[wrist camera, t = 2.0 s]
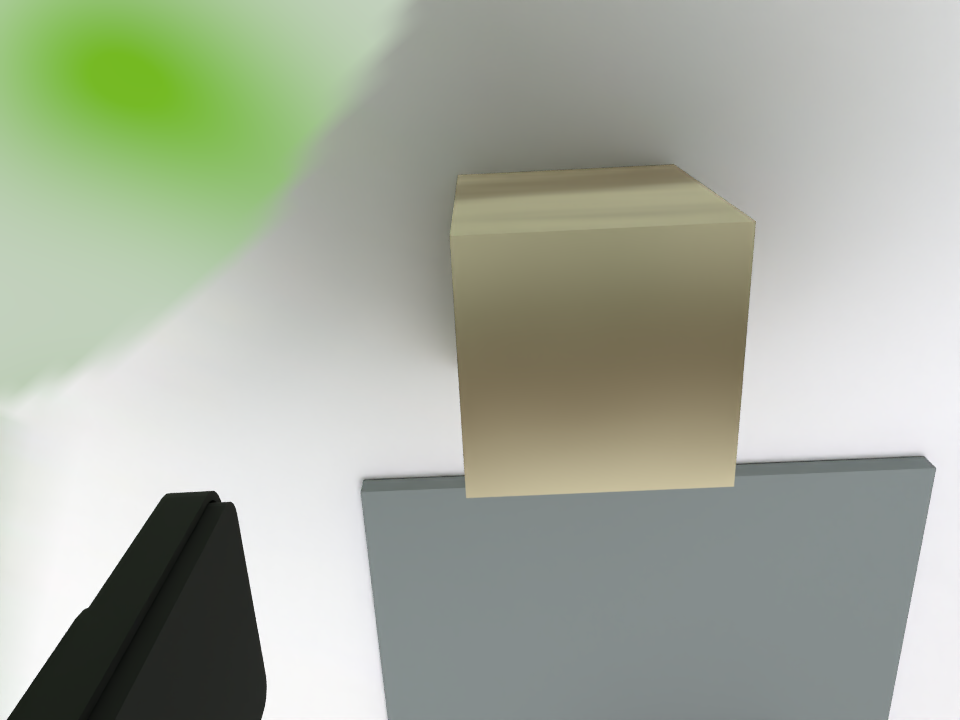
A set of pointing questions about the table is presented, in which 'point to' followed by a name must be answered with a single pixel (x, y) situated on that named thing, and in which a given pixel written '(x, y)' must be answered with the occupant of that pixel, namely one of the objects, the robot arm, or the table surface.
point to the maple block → (598, 330)
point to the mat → (649, 596)
